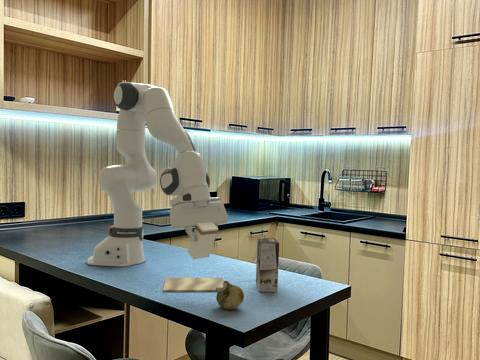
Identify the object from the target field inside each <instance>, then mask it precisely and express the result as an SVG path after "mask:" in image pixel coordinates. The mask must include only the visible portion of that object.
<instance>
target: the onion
mask: <svg viewBox="0 0 480 360" xmlns="http://www.w3.org/2000/svg"><path fill="white" fill-rule="evenodd" d="M222 284H223V287H221V288H220V287H216V291H218V292H217V293H216V297H215V299H216V303H217V304H218V305H219V307H220V308H222V309H224V310H236V309H237V308H238V307H240V305H241V304H242V303H243V301H244V298H245V294H244V291H243V289H242V288H241V287H240V286H237V285H235V284H232V283H230V281H228V280H224V283H222Z"/></svg>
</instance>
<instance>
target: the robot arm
mask: <svg viewBox="0 0 480 360" xmlns="http://www.w3.org/2000/svg"><path fill="white" fill-rule="evenodd" d="M113 102H114V104H115V106H116V107H117V109H119V111H118V116H117V122H116V138H115V139H116V140H115V148H116V150H117V152H118V153H119V154H121V155H122V156H123V157H124V159H125V164H113V165H108V166H104V167H103V168H102V169H101V170H100V171H99V174H98V178H97V181H98V186H99V187H100V189H101V190H102V191H104V192H105V193H106V194H107V195H108V197H109V199H110V201H111V204H112V207H113V225H110V226H109V228H108V236H106V237H105V238H103V240H101V241H100V242H99V243H98V244H97V245H95V248H94V249H93V254H92V255H91V256H90V257H88V258H87V261H86V263H87V265H89V266H103V267H104V266H105V267H107V266H108V267H124V268H125V267H129V266H133V265H138V264H142V263H144V262H146V257H145V252H144V246H143V240H144V226H143V208H142V205H140V203H138V202H136V201H135V199H134V197H133V193H137V192H139V193H140V192H148V191H149V190H152V189H154V188H155V187H156V185H157V182H158V175H157V174H158V173H157V171H156V169H155V168H154V167H152V166H151V164H150V162H149V159H148V157H147V154H146V142H145V141H146V129H147V130H148V132H149V134H150V135H151V136H152V137H153V138H154V139H156V140H158V141H160V142H162V143H164V144H166V145H169V146H170V147H172V148H174V149H175V150H176V151H177V152H178V153H177V155H176V159H175V160H174V163H172V164H171V166H169V167H168V168H166V169H164V171H162V173H161V175H160V177H159V185H160V188H161V191H162V192H163V193H164V194H165V195H166V196H170V197H171V196H172V197H174V198H172V199H171V200H169V205H170V207H171V208H170V209H169V218H170V226H171V227H172V228H173V229H174V230H178V229H184V230H185V233H186V234H187V235H188V237H189V240H190V242H194V241H197V235H194V233H193V232H194V229H193V228H195V226H196V225H197V224H196V223H205V222H212V223H213V224H214V225H215V226H216V227H217V228H218V226H222V225H225V224H227V223H228V221H229V217H228V214H227V210H226V208H225V205H224V201H223V200H222V199H221V198H220V197H211V194H210V185H211V179H210V176H209V174H208V172H207V170H206V167H205V163H204V158H203V157H202V154H201V153H200V152H198V151H197V150H196V148H195V145H194V143H193V140H192V139H191V138H192V137H190V134H189V133H188V132H187V130H186V129H184V127H183V125H181V123H180V121H179V119H178V117H177V114H176V111H175V107H174V104H173V102H172V100H171V95H170V92H169V91H168V89H166V88H164V87H163V86H162V87H161V86H156V85H152V84H149V83H137V82H131V81H130V82H129V81H124V82H123V81H122V82H119V83H118V84H117V85H116V86H115V87H114V90H113ZM218 229H219V228H218ZM215 240H217V236H216V237H215Z"/></svg>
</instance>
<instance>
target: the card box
mask: <svg viewBox="0 0 480 360" xmlns="http://www.w3.org/2000/svg"><path fill="white" fill-rule="evenodd" d="M196 224H197V225H196V226H195V227H194V229H193V231H192V232H193V233H194V235H197V241H194V242H191V241H189V245H188V248H187V253H188V255H189V256H190V257H191V258H192V260H198V259H204V258H210V255H211V252H212V248H213V246H214V243H215V241H216V239H215V237H216V238H217V234H218V232H219V228H217V227H216V226H215V225H214V224H213V223H212V222H205V223H196Z"/></svg>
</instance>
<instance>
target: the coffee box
mask: <svg viewBox="0 0 480 360" xmlns="http://www.w3.org/2000/svg"><path fill="white" fill-rule="evenodd" d="M279 257H280V242H279V241H278V240H277V239H276V238H274V237H271V238H270V237H269V238H268V237H267V238H265V237H264V238H256V261H255V262H256V263H255V265H256V267H255V271H256V272H255V285H256V287H257V290H258V292H264V293H265V292H268V293H269V292H270V293H271V292H273V293H276V292H277V293H278V286H279V284H278V283H279V260H280V258H279Z"/></svg>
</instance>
